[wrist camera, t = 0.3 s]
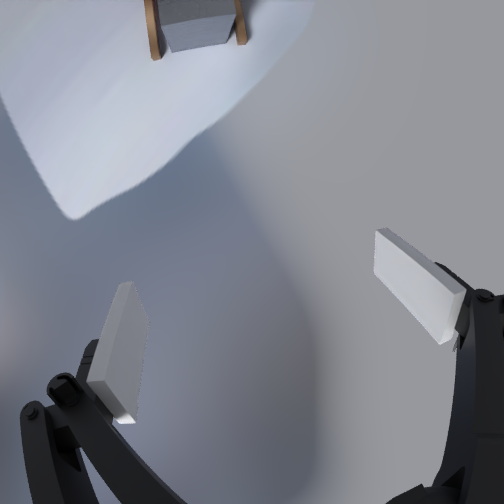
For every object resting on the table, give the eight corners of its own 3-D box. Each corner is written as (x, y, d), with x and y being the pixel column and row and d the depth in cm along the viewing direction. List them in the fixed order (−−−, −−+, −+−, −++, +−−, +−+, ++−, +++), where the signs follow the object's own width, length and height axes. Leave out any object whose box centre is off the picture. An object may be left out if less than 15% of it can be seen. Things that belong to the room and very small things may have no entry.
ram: (167, 23, 29) (155, -11, 18) (220, 14, 30) (229, -23, 19) (172, 52, 31) (160, 26, 20) (225, 43, 32) (236, 14, 21)
